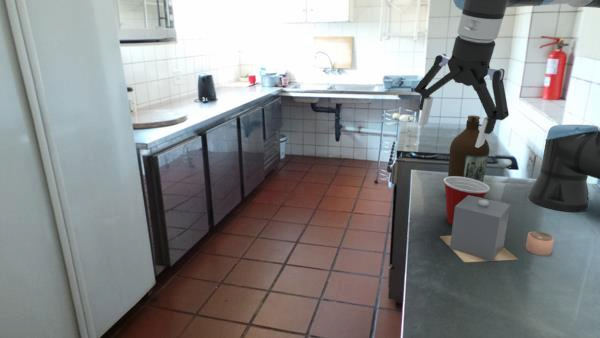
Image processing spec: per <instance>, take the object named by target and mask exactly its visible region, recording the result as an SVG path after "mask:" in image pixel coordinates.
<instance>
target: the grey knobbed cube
mask: <svg viewBox="0 0 600 338" xmlns="http://www.w3.org/2000/svg"><path fill="white" fill-rule="evenodd" d="M510 211H511V204H510V203H504V202H502V201H501V202H500V201H498V200H492V199H487V198H485V197H484V198H479V197H475V196H470V195H468V196H467V197H466V198H464V199H463V200H462V201H461V202H460V203H459V204H457V205H456V206H455V211H454V219H453V225H451V227H452V228H451V234H450V236H451V241H450V247H449V249H451V250H452V249H453V250H456V251H460V252H463V253H466V254H469V255H473V256H476V257H479V258H482V259H486V260H489V261H488V262H494V261H493V260H494V259H495V257H496V256H497V255H498V253H499V252H500V250H501V249H502V247H504V245H505V239H506V234H507V228H508V222H509V215H510ZM453 250H452V251H453Z"/></svg>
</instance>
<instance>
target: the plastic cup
mask: <svg viewBox="0 0 600 338" xmlns="http://www.w3.org/2000/svg"><path fill="white" fill-rule="evenodd" d="M443 183H444V188H445V191H444V193H445V205H446V207H445V208H446V211H445V212H446V219H447V220H446V221H447V223H448V224H450V225H451V226H453V219H454V211H455V206H456V205H457V204H459V203H460V202H461V201H462V200H463V199H464V198H466V197H467V196H468V195H470V196H475V197H479V198H484V199H485V196H487V195H486V194H487V193H488V192H490V191H491V190H490V186H489V185H488V184H486V183H485V182H484V181H483V182H480V181H477V180H474V179H471V178H466V177H458V176H450V177H448V176H446V177H444V179H443Z"/></svg>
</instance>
